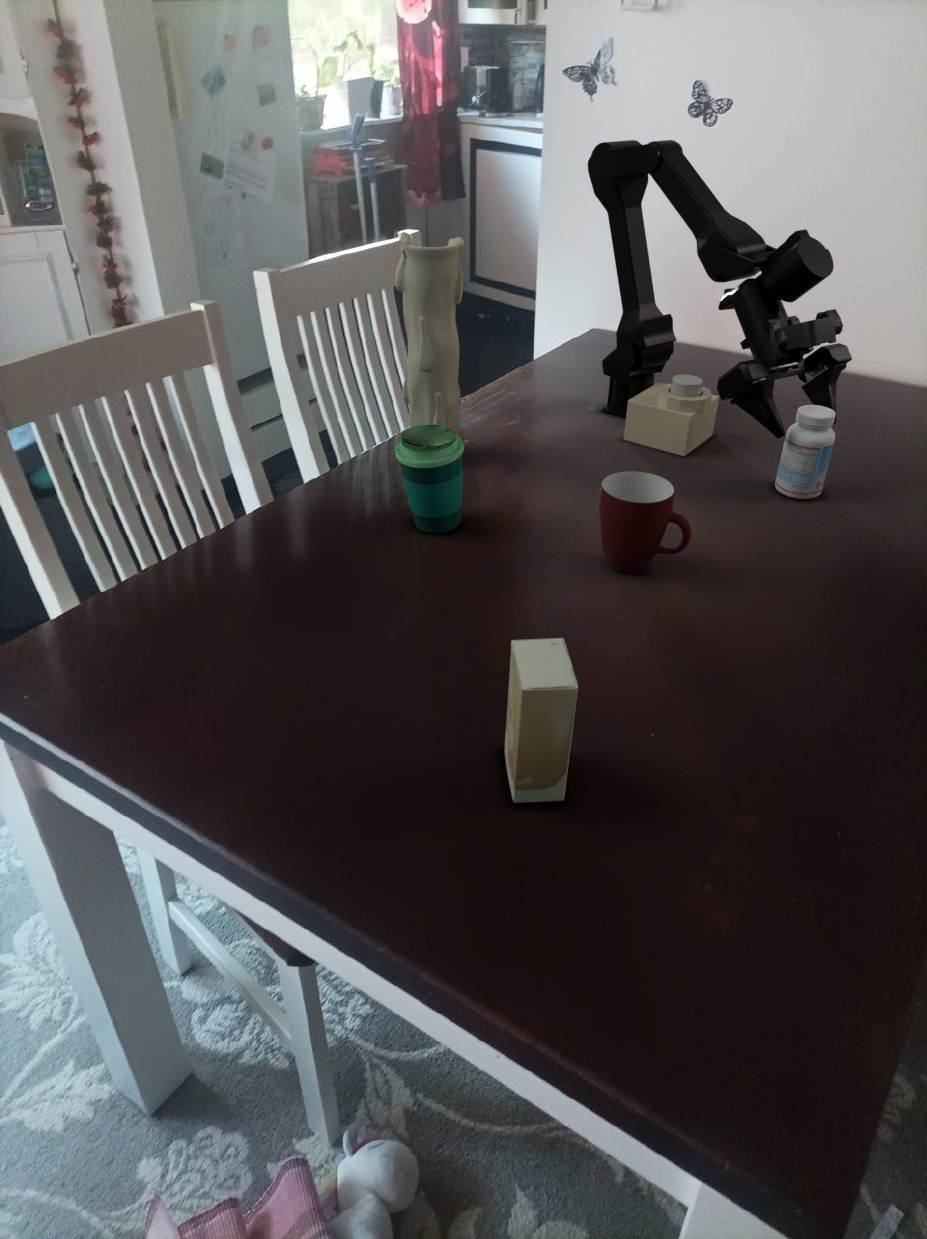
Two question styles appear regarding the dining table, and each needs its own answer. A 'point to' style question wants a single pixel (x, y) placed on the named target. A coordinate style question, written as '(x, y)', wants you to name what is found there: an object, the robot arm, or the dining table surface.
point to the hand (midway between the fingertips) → (807, 430)
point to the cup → (432, 476)
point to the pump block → (670, 419)
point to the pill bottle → (806, 453)
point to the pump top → (686, 386)
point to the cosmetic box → (539, 719)
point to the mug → (637, 519)
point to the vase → (431, 330)
